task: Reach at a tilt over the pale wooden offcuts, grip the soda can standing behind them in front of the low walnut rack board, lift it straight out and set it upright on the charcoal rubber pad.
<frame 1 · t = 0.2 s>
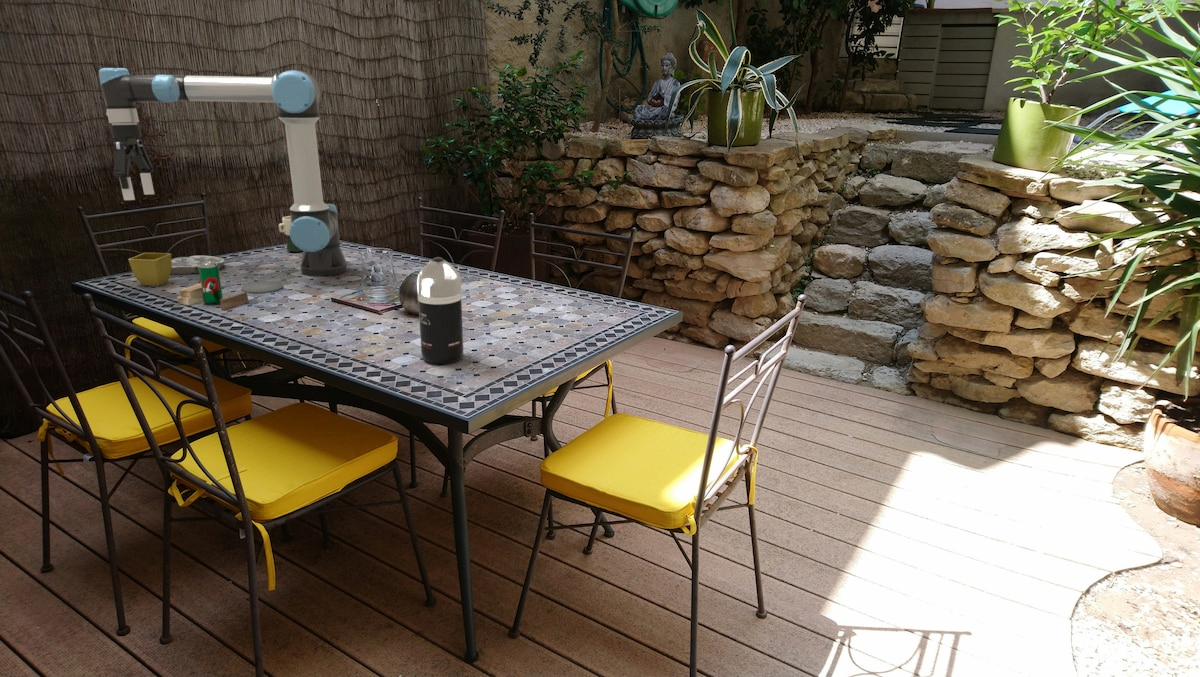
hand: (139, 197, 222), 27 cm above the table, tool pointing down, fingers open, 13 cm apart
character mug: (296, 252, 279), on the table
rack: (213, 302, 215), on the table
soda can: (213, 303, 215), on the table
black and cream bottle: (442, 359, 178), on the table
brain slice: (192, 270, 251), on the table
flower pot: (155, 284, 232), on the table
pad: (262, 288, 231), on the table
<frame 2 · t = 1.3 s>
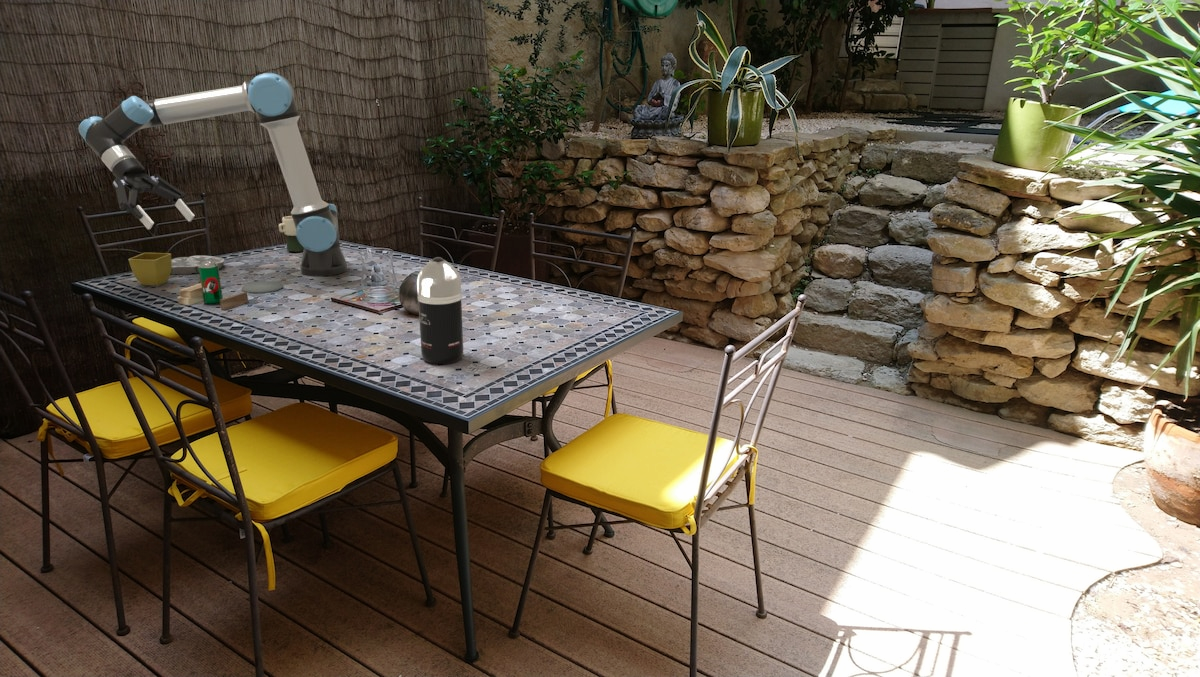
hand: (172, 222, 211), 23 cm above the table, tool tilted 45°, fingers open, 13 cm apart
nothing on the table moved.
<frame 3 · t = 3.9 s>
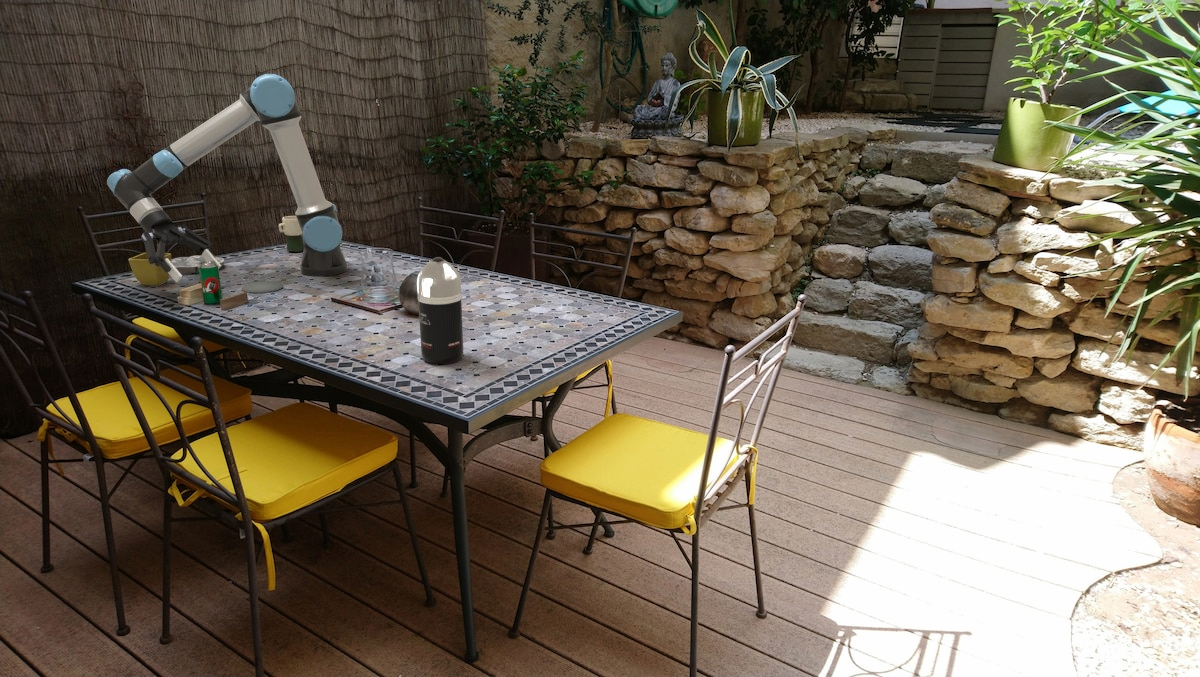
hand: (199, 274, 213), 8 cm above the table, tool tilted 45°, fingers open, 13 cm apart
nothing on the table moved.
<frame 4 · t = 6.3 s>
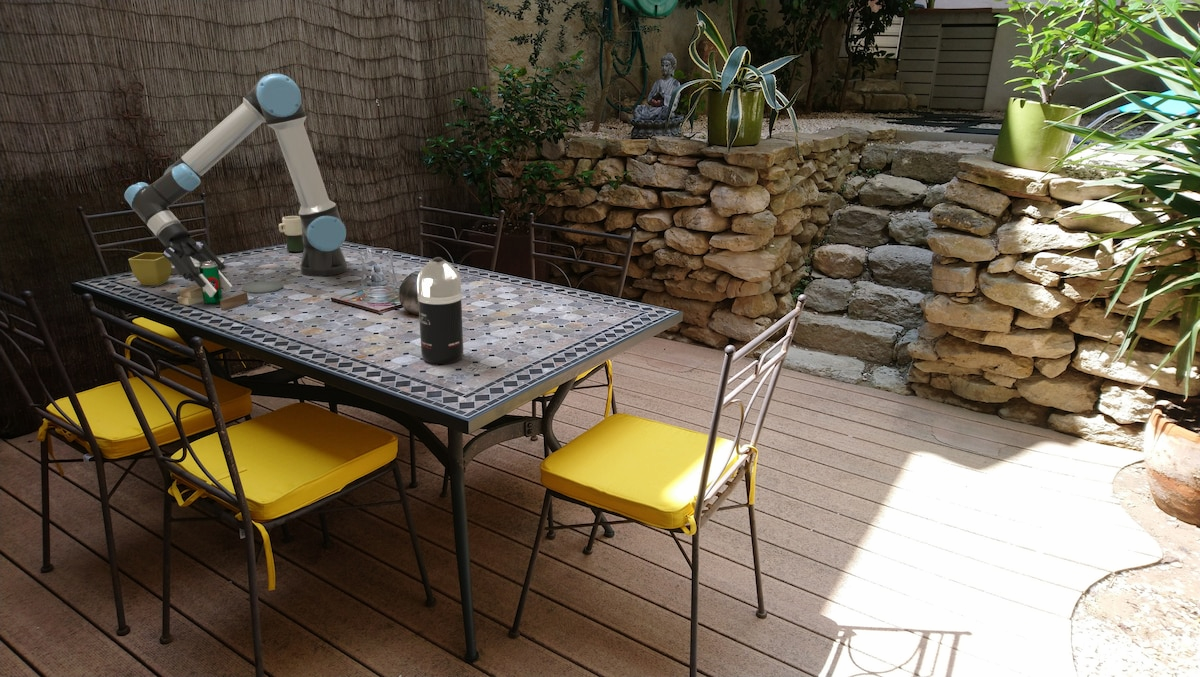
hand: (221, 291, 213), 4 cm above the table, tool tilted 45°, fingers closed on soda can, 5 cm apart
soda can: (213, 303, 215), on the table, touching gripper
everything else where it was.
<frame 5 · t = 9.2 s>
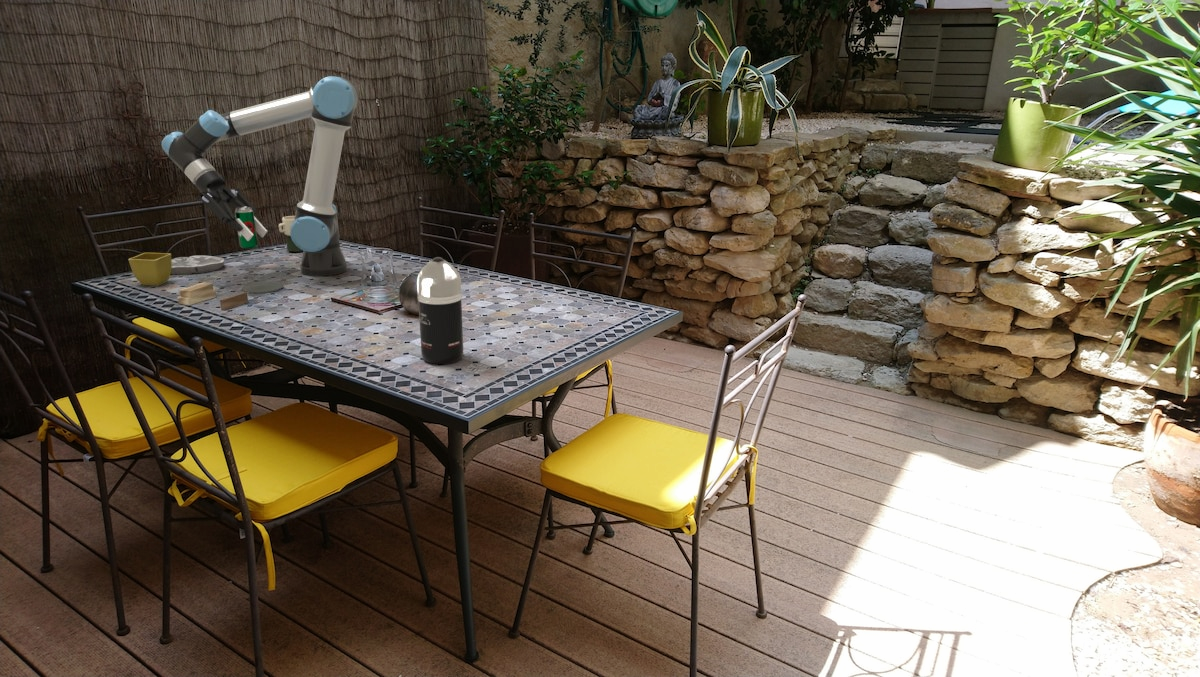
hand: (257, 235, 222), 17 cm above the table, tool tilted 45°, fingers closed on soda can, 5 cm apart
soda can: (249, 247, 224), point 13 cm above the table, touching gripper
everything else where it was.
when the fingers open (6 cm above the table, at t = 12.3 s): soda can drops 1 cm, resting on pad.
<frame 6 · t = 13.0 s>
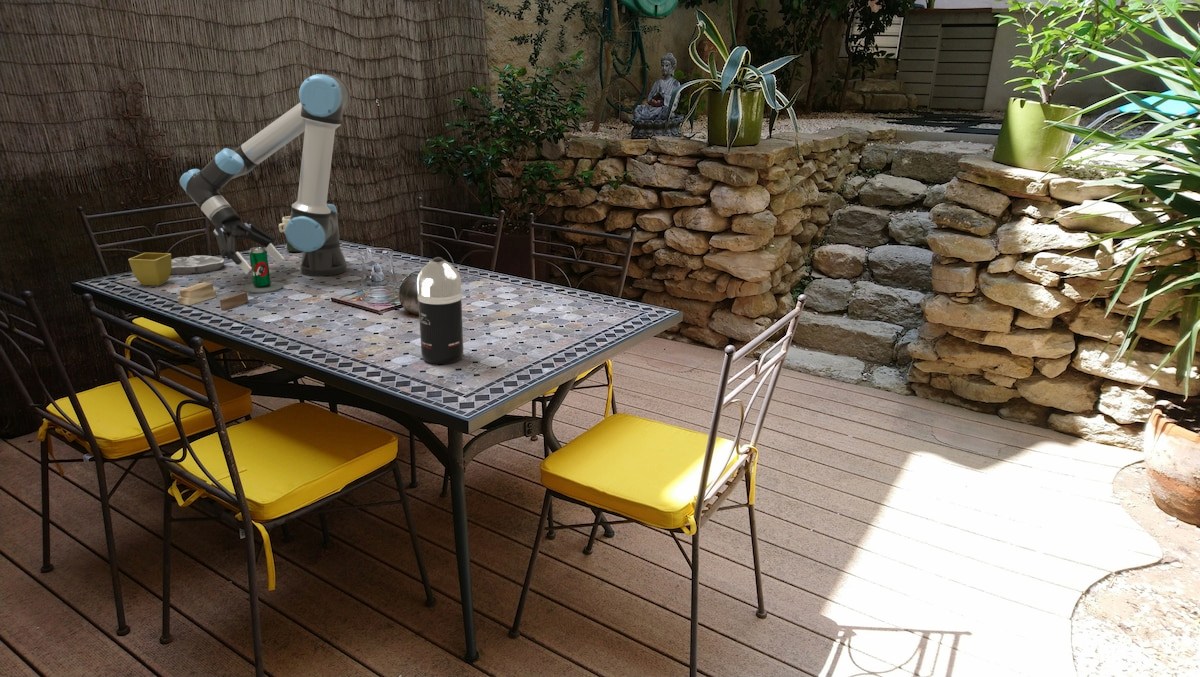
hand: (265, 266, 228), 7 cm above the table, tool tilted 45°, fingers open, 13 cm apart
soda can: (262, 286, 231), resting on pad
everything else where it was.
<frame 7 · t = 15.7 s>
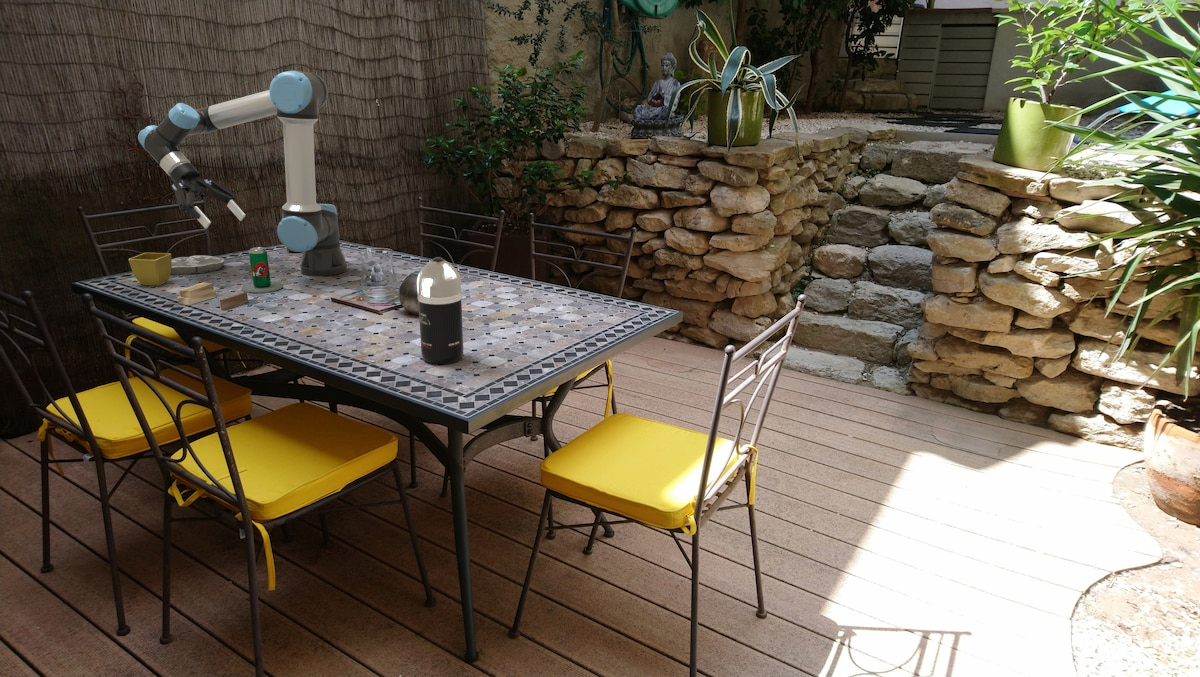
hand: (226, 221, 227), 20 cm above the table, tool tilted 45°, fingers open, 13 cm apart
nothing on the table moved.
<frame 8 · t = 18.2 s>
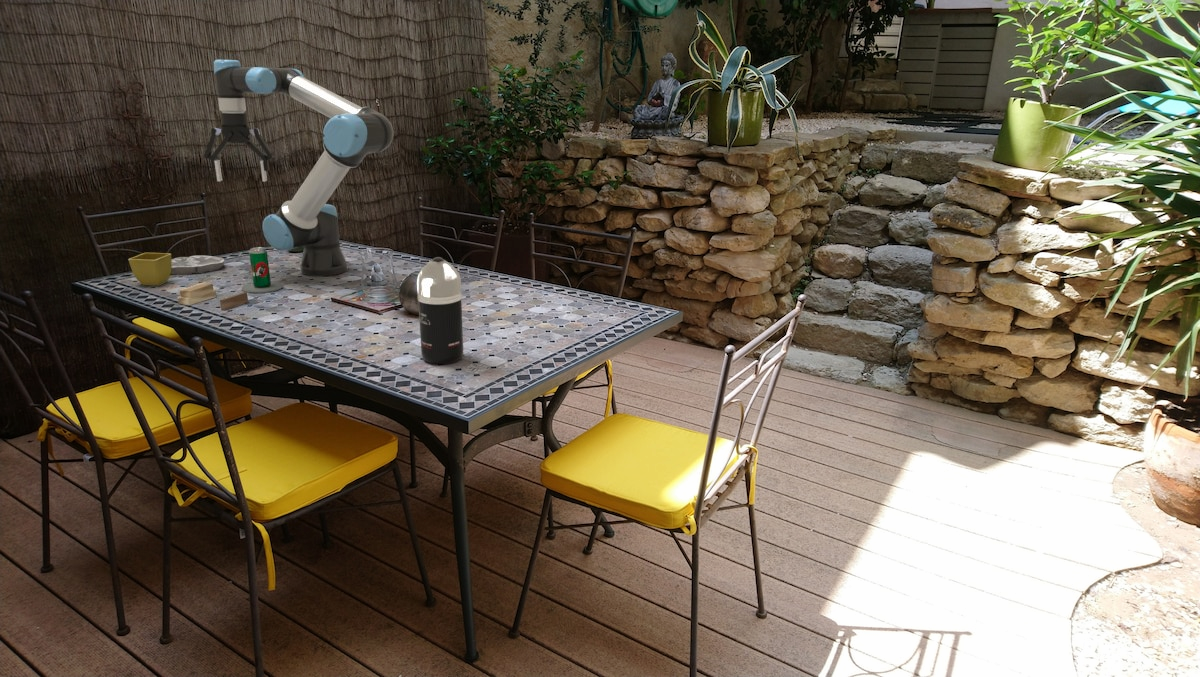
hand: (242, 181, 237), 31 cm above the table, tool pointing down, fingers open, 13 cm apart
nothing on the table moved.
at the end: soda can inside the target area on the pad (0.1 cm from its centre), point 0.4 cm above the pad's base; soda can tilted 0°; the gripper is holding nothing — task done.
